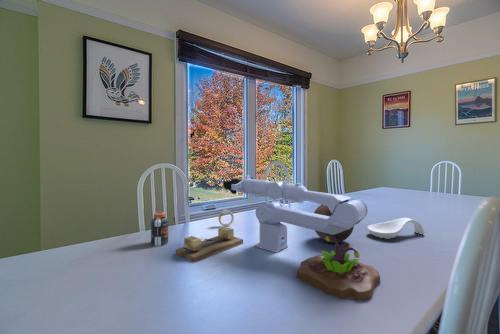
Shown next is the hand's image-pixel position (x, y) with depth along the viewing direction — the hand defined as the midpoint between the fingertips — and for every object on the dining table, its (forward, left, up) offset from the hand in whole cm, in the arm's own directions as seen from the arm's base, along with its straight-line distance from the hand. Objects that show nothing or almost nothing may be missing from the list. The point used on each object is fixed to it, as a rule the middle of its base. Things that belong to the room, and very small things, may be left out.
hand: (230, 183), depth 102 cm
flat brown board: (-5, +15, -21) cm, 26 cm away
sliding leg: (-5, +8, -19) cm, 21 cm away
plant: (-46, +7, -22) cm, 52 cm away
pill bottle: (+13, +24, -21) cm, 34 cm away
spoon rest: (-51, -44, -22) cm, 71 cm away
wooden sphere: (-34, -20, -21) cm, 45 cm away
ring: (+11, -8, -21) cm, 25 cm away
